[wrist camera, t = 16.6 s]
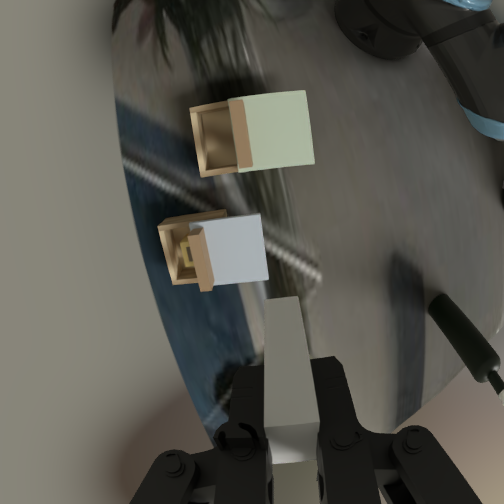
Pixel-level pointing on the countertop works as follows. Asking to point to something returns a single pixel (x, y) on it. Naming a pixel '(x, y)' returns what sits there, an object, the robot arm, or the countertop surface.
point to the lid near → (271, 130)
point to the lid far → (228, 250)
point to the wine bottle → (468, 342)
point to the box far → (171, 237)
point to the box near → (214, 139)
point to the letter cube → (186, 251)
